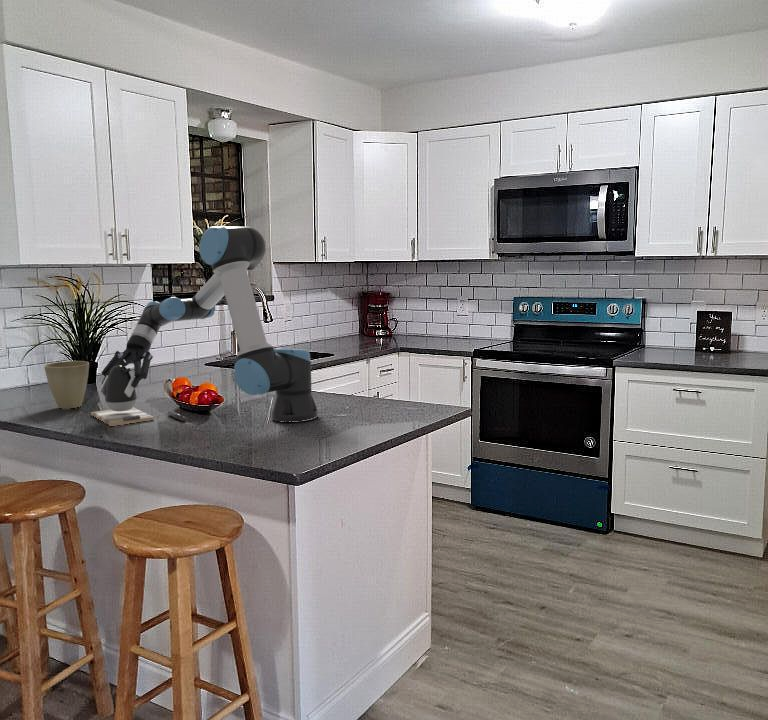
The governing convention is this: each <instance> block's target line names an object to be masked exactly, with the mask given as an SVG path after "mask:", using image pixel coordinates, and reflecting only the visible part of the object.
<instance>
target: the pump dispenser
mask: <svg viewBox="0 0 768 720" xmlns="http://www.w3.org/2000/svg"><path fill="white" fill-rule="evenodd" d="M131 371H132V370H131V368H127V366H122V365H116V366H114V367H113V368H112V369H111V371H110V373H109V375H108V378H107V383H106V388H105V396H104V401H105V403H106V405H107V407H108V408H109V410H113V411H127V410H130V409H131V408H133V407H134V408H135V405H136V402H137V399H138V393H137V389H136V388H137V387H136V388H134V390H133V392H132V394H131V396H130V397H128V396H127V395H126V394H125V393H124V392H125V389H126V387H127V385H128V383H129V381H130V379H131V377H132V375H131V373H130V372H131Z"/></svg>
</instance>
